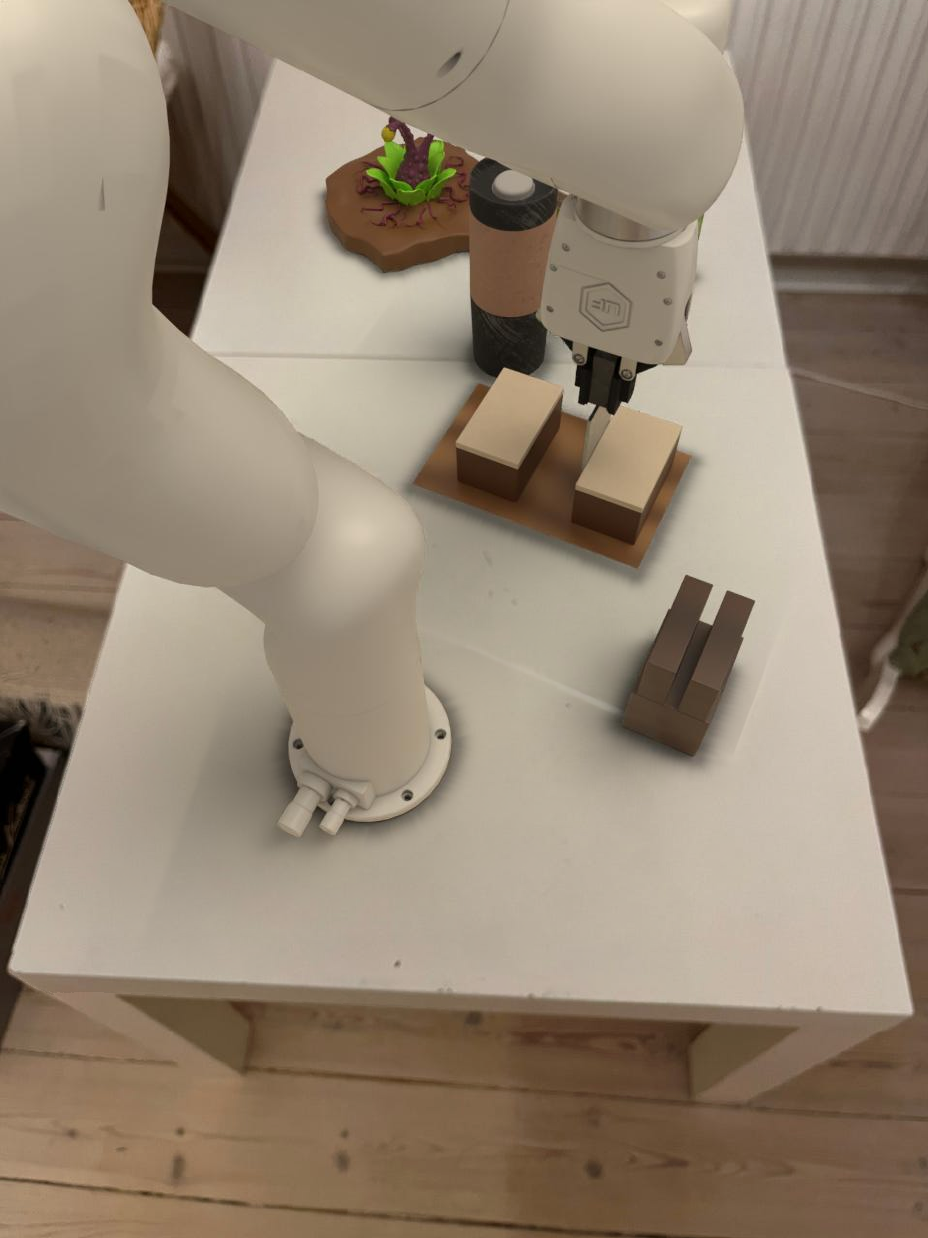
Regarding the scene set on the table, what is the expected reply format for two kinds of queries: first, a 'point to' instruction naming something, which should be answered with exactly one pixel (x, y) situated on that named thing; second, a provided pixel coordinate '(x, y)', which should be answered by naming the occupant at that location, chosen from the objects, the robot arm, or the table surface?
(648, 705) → the knife block
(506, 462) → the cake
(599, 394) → the knife
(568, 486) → the cake board
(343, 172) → the plant
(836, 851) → the table surface
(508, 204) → the travel mug
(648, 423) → the cake slice
